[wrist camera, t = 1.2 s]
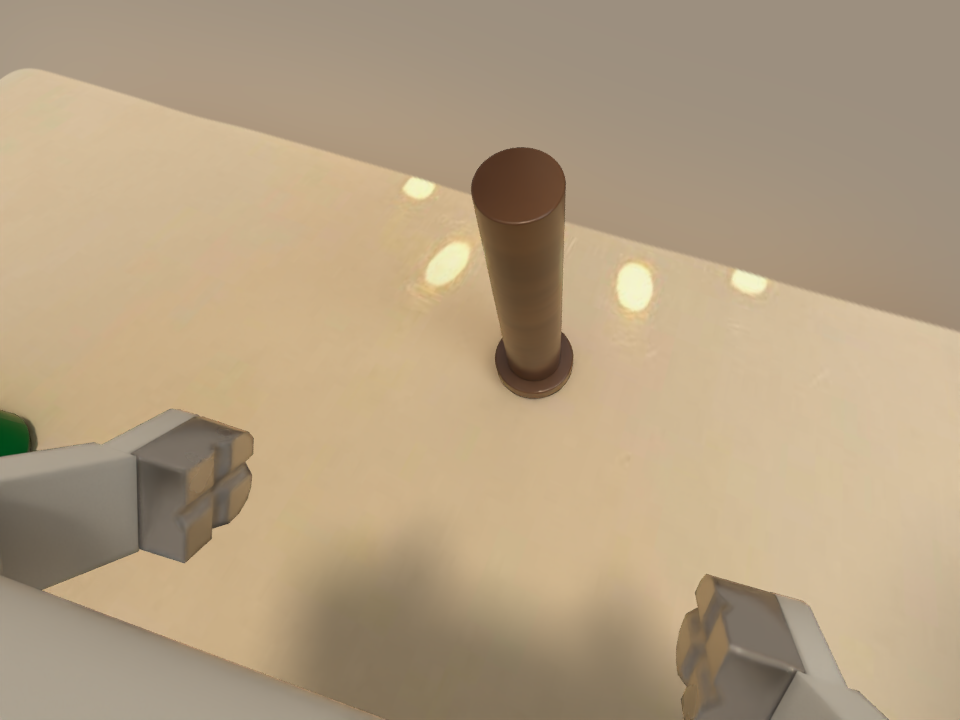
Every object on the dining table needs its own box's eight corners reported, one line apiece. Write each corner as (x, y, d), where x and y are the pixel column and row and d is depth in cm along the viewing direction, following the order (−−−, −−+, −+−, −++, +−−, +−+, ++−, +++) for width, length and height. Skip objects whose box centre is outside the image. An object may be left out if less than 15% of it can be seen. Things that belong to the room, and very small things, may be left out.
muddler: (588, 360, 32) (618, 176, 17) (535, 414, 31) (518, 270, 16) (533, 314, 34) (516, 108, 19) (481, 364, 33) (421, 191, 18)
